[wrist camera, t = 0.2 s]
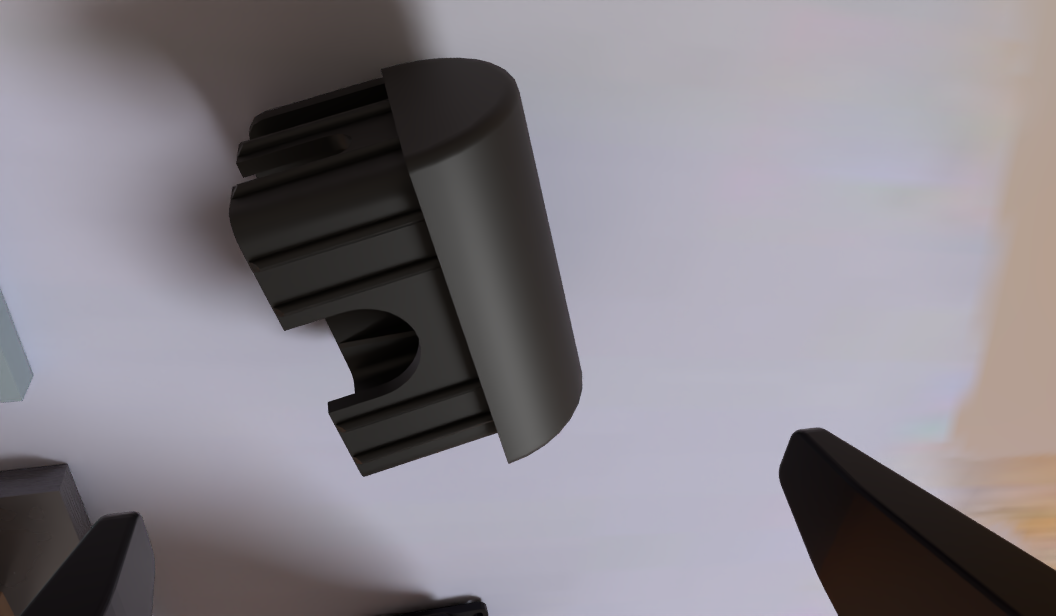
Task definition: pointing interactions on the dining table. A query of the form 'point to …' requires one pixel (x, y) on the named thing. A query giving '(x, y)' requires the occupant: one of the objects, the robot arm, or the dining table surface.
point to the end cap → (416, 258)
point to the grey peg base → (12, 360)
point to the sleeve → (5, 606)
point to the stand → (37, 529)
